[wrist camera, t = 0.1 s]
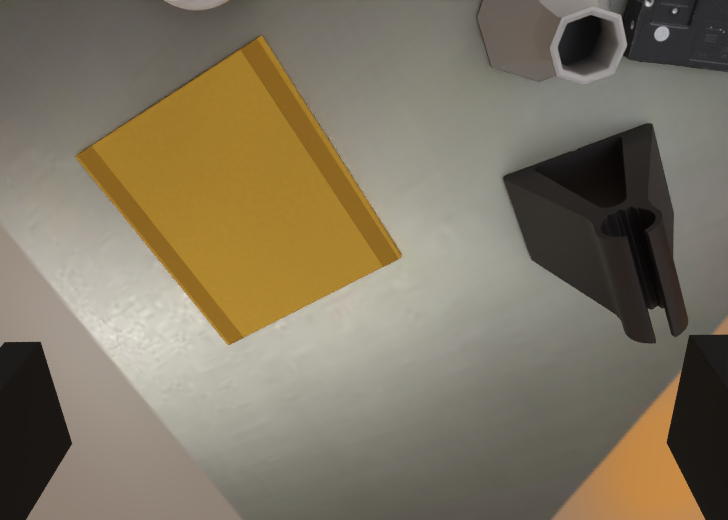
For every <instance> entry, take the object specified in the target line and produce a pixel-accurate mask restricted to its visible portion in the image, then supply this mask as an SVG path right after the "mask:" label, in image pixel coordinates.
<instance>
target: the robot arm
mask: <svg viewBox="0 0 728 520" xmlns="http://www.w3.org/2000/svg"><path fill="white" fill-rule="evenodd" d="M667 444H668V446H669V448H670V450H671V452H672V454H673V456H674V458H675V460H676V462H677V464H678V466H679V468H680V470H681V472H682V474H683V476H684V478H685V480H686V482H687V484H688V486H689V488H690V490H691V492H692V494H693V496H694V498H695V500H696V502H697V504H698V506H699V507H700V510H701V512H702V514H703V515H704V517H705V519H706V520H728V335H689V339H688V344H687V348H686V353H685V358H684V363H683V367H682V372H681V377H680V382H679V386H678V391H677V396H676V401H675V405H674V410H673V415H672V420H671V424H670V429H669V434H668V439H667ZM71 445H72V442H71V439H70V435H69V432H68V429H67V425H66V422H65V419H64V416H63V413H62V409H61V406H60V403H59V400H58V396H57V393H56V390H55V387H54V384H53V380H52V377H51V374H50V371H49V368H48V364H47V361H46V358H45V355H44V351H43V348H42V345H41V342H5V343H4V344H3V345H2V346H1V347H0V520H26V519H27V517H28V515H29V514H30V512H31V510H32V509H33V507H34V505H35V504H36V502H37V500H38V499H39V497H40V496H41V494H42V492H43V491H44V489H45V487H46V486H47V484H48V482H49V481H50V479H51V477H52V476H53V474H54V473H55V471H56V469H57V468H58V466H59V464H60V463H61V461H62V459H63V458H64V456H65V454H66V453H67V451H68V449H69V448H70V446H71Z"/></svg>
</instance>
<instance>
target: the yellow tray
mask: <svg viewBox="0 0 728 520" xmlns="http://www.w3.org/2000/svg"><path fill="white" fill-rule="evenodd" d="M76 158H77V160H78V161H79V162H80V163H81V165H82V166H83V167H84V168H85V169H86V171H87V172H88V173H89V174H90V176H91V177H92V178H93V179H94V181H95V182H96V183H97V184H98V185H99V187H100V188H101V189H102V190H103V192H104V193H105V194H106V195H107V197H108V198H109V199H110V200H111V201H112V203H113V204H114V205H115V206H116V208H117V209H118V210H119V211H120V213H121V214H122V215H123V216H124V217H125V219H126V220H127V221H128V222H129V224H130V225H131V226H132V227H133V229H134V230H135V231H136V232H137V234H138V235H139V236H140V237H141V238H142V240H143V241H144V242H145V243H146V245H147V246H148V247H149V248H150V250H151V251H152V252H153V253H154V254H155V256H156V257H157V258H158V259H159V261H160V262H161V263H162V264H163V266H164V267H165V268H166V269H167V270H168V272H169V273H170V274H171V275H172V277H173V278H174V279H175V280H176V282H177V283H178V284H179V285H180V286H181V288H182V289H183V290H184V291H185V293H186V294H187V295H188V296H189V298H190V299H191V300H192V301H193V302H194V304H195V305H196V306H197V307H198V309H199V310H200V311H201V312H202V314H203V315H204V316H205V317H206V318H207V320H208V321H209V322H210V323H211V325H212V326H213V327H214V328H215V330H216V331H217V332H218V333H219V334H220V336H221V337H222V338H223V339H224V341H225V342H226V343H227V344H228V345H230V344H232V343H234V342H236V341H238V340H240V339H242V338H244V337H246V336H247V335H249V334H251V333H253V332H255V331H257V330H259V329H261V328H263V327H265V326H267V325H269V324H271V323H273V322H275V321H277V320H279V319H281V318H283V317H285V316H287V315H289V314H291V313H293V312H295V311H297V310H299V309H301V308H303V307H305V306H307V305H309V304H311V303H313V302H315V301H316V300H318V299H320V298H322V297H324V296H326V295H328V294H330V293H332V292H334V291H336V290H338V289H340V288H342V287H344V286H346V285H348V284H350V283H352V282H354V281H356V280H358V279H360V278H362V277H364V276H366V275H368V274H370V273H372V272H374V271H376V270H378V269H380V268H382V267H384V266H386V265H388V264H390V263H392V262H394V261H396V260H398V259H399V258H401V253H400V251H399V249H398V248H397V246H396V245H395V243H394V242H393V240H392V238H391V237H390V235H389V234H388V232H387V231H386V229H385V227H384V226H383V224H382V223H381V221H380V220H379V218H378V216H377V215H376V213H375V212H374V210H373V209H372V207H371V205H370V204H369V202H368V201H367V199H366V198H365V196H364V195H363V193H362V191H361V190H360V188H359V187H358V185H357V184H356V182H355V180H354V179H353V177H352V176H351V174H350V173H349V171H348V169H347V168H346V166H345V165H344V163H343V162H342V160H341V158H340V157H339V155H338V154H337V152H336V151H335V149H334V147H333V146H332V144H331V143H330V141H329V140H328V138H327V136H326V135H325V133H324V132H323V130H322V129H321V127H320V125H319V124H318V122H317V121H316V119H315V118H314V116H313V114H312V113H311V111H310V110H309V108H308V107H307V105H306V103H305V102H304V100H303V99H302V97H301V96H300V94H299V93H298V91H297V89H296V88H295V86H294V85H293V83H292V82H291V80H290V78H289V77H288V75H287V74H286V72H285V71H284V69H283V67H282V66H281V64H280V63H279V61H278V60H277V58H276V56H275V55H274V53H273V52H272V50H271V49H270V47H269V45H268V44H267V42H266V41H265V39H264V38H263V36H260V37H258V38H257V39H255V40H254V41H252V42H250V43H249V44H247V45H246V46H244V47H243V48H241V49H240V50H238V51H237V52H235V53H233V54H232V55H230V56H229V57H227V58H226V59H224V60H223V61H221V62H220V63H218V64H217V65H215V66H213V67H212V68H210V69H209V70H207V71H206V72H204V73H203V74H201V75H200V76H198V77H197V78H195V79H193V80H192V81H190V82H189V83H187V84H186V85H184V86H183V87H181V88H180V89H178V90H177V91H175V92H173V93H172V94H170V95H169V96H167V97H166V98H164V99H163V100H161V101H160V102H158V103H156V104H155V105H153V106H152V107H150V108H149V109H147V110H146V111H144V112H143V113H141V114H140V115H138V116H136V117H135V118H133V119H132V120H130V121H129V122H127V123H126V124H124V125H123V126H121V127H120V128H118V129H116V130H115V131H113V132H112V133H110V134H109V135H107V136H106V137H104V138H103V139H101V140H100V141H98V142H96V143H95V144H93V145H92V146H90V147H89V148H87V149H86V150H84V151H83V152H81V153H80V154H78V155H77V156H76Z"/></svg>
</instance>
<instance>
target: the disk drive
mask: <svg viewBox="0 0 728 520" xmlns="http://www.w3.org/2000/svg"><path fill="white" fill-rule="evenodd" d="M623 27H624V32H625V37H626V42H627V47H626V49H625V51H624V53H623V56H625V57H627V58H628V59H630V60H635V61H640V62H649V63H659V64H669V65H677V66H685V67H691V68H699V69H708V70H717V71H724V72H728V0H629V3H628V7H627V10H626V14H625V19H624V22H623Z"/></svg>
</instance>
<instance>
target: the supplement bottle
mask: <svg viewBox="0 0 728 520" xmlns="http://www.w3.org/2000/svg"><path fill="white" fill-rule="evenodd" d="M164 1H166V2H167V3H169V4H171V5H173V6H176V7H179V8H182V9H186V10H207V9H211V8H215V7H218V6H220V5H222V4H224V3H226V2H228V1H229V0H164Z"/></svg>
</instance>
